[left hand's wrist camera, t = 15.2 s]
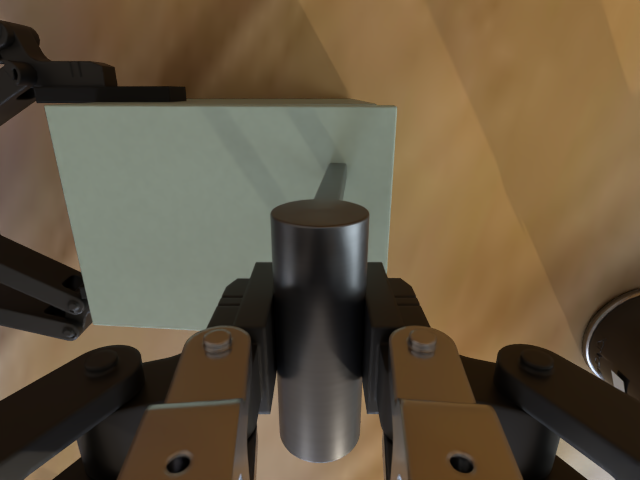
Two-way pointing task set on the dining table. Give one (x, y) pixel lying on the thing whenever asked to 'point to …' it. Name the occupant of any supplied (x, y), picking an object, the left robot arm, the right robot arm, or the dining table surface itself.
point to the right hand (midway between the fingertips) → (189, 195)
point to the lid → (238, 232)
